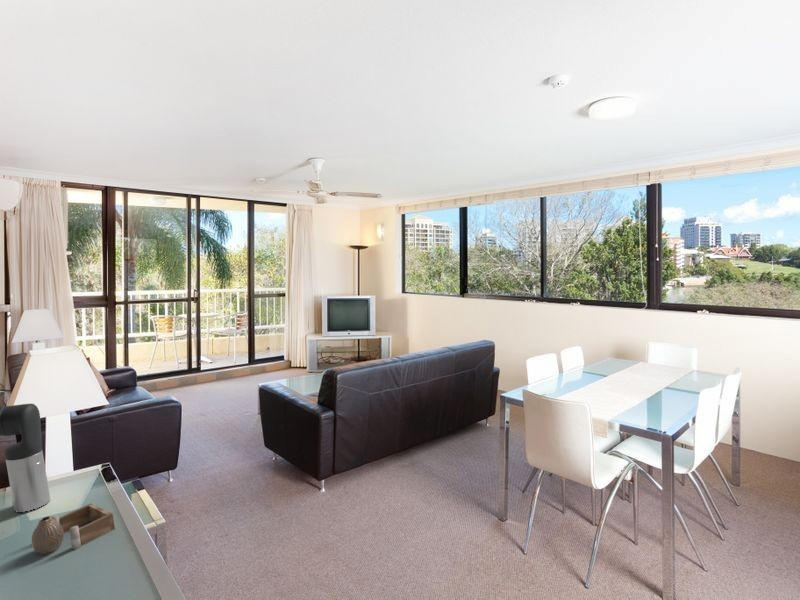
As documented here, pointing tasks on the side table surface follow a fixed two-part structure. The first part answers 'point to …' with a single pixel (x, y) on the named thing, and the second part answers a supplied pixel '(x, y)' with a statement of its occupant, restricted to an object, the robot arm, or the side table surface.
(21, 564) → the side table surface
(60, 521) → the housing
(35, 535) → the vase
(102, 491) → the side table surface
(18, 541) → the side table surface
